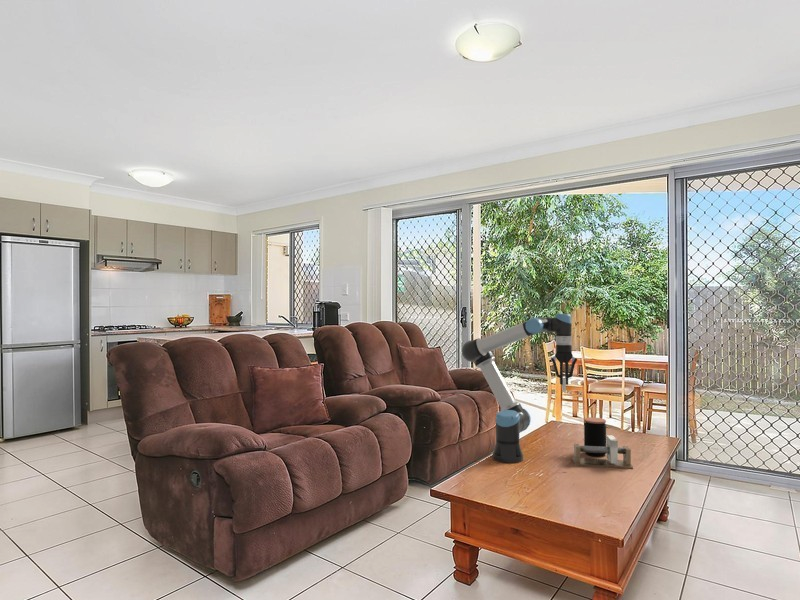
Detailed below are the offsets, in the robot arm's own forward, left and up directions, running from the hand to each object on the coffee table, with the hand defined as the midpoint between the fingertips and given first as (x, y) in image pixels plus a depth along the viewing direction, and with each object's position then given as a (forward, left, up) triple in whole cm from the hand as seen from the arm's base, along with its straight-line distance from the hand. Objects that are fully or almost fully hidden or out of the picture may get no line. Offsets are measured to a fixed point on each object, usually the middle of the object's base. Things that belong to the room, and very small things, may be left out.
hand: (564, 391), depth 256 cm
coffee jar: (+17, +13, -35) cm, 41 cm away
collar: (+22, -4, -32) cm, 39 cm away
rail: (+17, -4, -34) cm, 39 cm away
